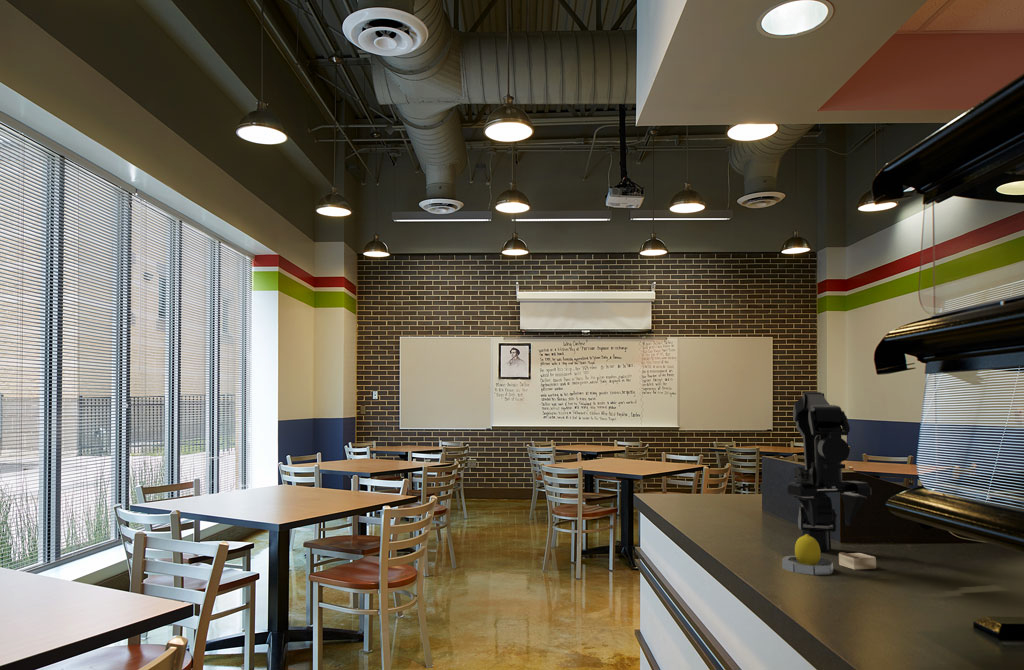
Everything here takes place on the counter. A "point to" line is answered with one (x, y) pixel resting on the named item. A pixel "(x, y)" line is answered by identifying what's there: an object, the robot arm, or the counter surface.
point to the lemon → (807, 550)
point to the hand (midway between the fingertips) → (830, 525)
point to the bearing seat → (807, 566)
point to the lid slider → (857, 561)
